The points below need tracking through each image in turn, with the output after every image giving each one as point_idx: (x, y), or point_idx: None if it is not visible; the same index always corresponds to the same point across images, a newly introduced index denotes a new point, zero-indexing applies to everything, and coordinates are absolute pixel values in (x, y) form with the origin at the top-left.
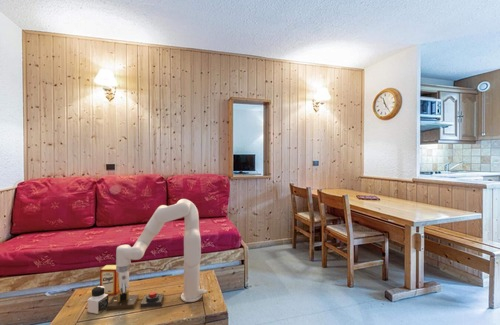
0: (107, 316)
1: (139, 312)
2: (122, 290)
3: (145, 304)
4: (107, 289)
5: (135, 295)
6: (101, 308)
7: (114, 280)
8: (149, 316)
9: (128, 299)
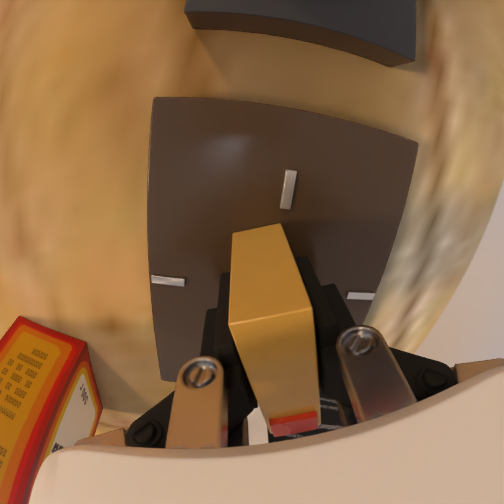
0: (399, 330)
1: (455, 89)
2: (248, 406)
3: (410, 16)
4: (83, 414)
5: (171, 139)
6: (328, 399)
7: (43, 454)
8: (498, 40)
9: (280, 225)
